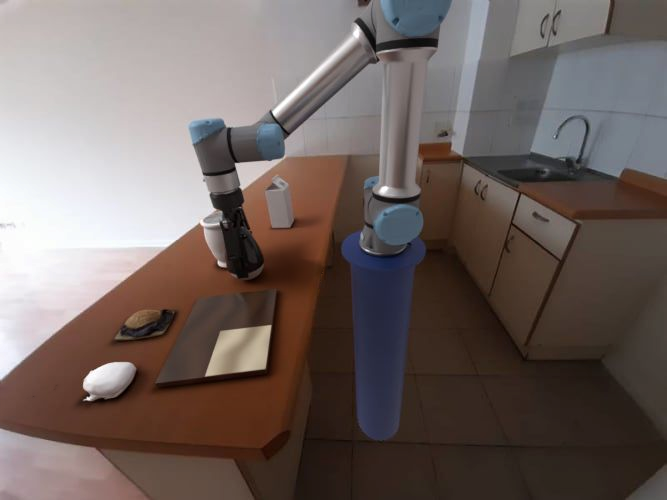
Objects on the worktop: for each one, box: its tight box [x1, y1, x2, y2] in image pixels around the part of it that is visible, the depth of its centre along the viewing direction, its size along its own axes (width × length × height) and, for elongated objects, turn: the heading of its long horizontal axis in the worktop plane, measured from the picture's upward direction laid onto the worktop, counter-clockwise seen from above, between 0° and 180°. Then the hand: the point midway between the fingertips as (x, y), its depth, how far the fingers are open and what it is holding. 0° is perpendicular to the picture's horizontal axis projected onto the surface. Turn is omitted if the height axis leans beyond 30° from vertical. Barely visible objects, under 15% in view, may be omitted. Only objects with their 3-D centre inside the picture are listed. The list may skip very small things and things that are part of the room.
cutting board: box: [154, 288, 278, 389], centre depth 61 cm, size 20×24×2 cm
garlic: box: [82, 361, 137, 402], centre depth 51 cm, size 8×7×4 cm
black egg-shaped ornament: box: [225, 226, 265, 281], centre depth 75 cm, size 10×10×15 cm
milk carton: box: [264, 173, 295, 229], centre depth 105 cm, size 7×7×19 cm
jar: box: [199, 210, 227, 269], centre depth 84 cm, size 11×10×15 cm
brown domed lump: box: [114, 308, 176, 342], centre depth 64 cm, size 11×8×4 cm
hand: (247, 266), depth 78 cm, fingers closed on black egg-shaped ornament, 10 cm apart
